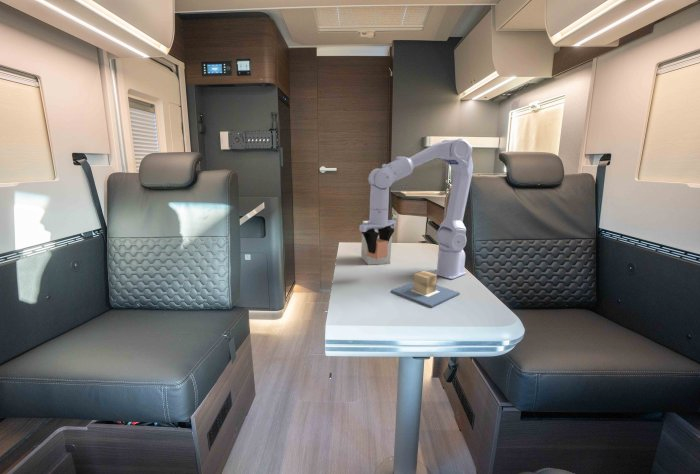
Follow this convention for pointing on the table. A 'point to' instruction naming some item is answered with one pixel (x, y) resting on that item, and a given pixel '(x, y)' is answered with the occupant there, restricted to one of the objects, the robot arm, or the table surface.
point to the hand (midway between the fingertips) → (377, 251)
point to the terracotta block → (379, 249)
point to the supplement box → (372, 260)
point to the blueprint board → (429, 299)
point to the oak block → (424, 282)
